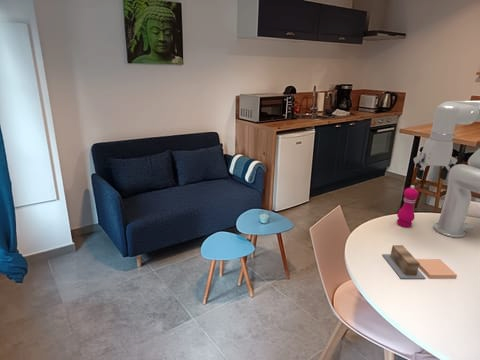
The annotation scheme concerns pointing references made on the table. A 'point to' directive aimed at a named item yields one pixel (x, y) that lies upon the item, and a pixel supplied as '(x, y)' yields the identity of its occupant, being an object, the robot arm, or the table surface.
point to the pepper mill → (407, 207)
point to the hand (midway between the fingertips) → (430, 178)
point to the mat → (399, 271)
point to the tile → (436, 269)
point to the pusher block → (404, 260)
